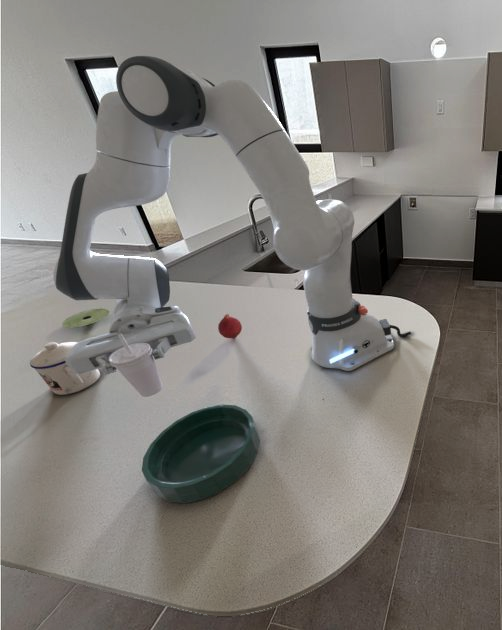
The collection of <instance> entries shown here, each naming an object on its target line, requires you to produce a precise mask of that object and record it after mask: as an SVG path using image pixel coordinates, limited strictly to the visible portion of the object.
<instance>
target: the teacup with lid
mask: <svg viewBox="0 0 502 630" xmlns="http://www.w3.org/2000/svg"><path fill="white" fill-rule="evenodd" d="M77 343H78V342H77V341H68V342H61V343H57V342H54V341H52V342H51V341H50V342H48V343H46V344H45V345H44V348H43V349H42V350H40V351H39V352H37V353H35V354H34V355H33V356H32V357H31V358H30V360H29V366H30V367H31V368H32V369H34V370H35V371H36V372H37V374H38V375H39V377H41V379H42V380H43V381H44V383H46V385H47V386H48V387H49V388H50V390H51V392H52V393H54V394H56V395H61V396H63V395H69V394H70V395H71V394H74V393H77V392H80V391H82V390H84V389H87V388H88V387H90V386H92V385H93V384H95V383H96V382H97V380H99V378H100V376H101V373H100V370H99V369H96V370H92V371H89V372H85V373H82V374H77V373H74V372H73V371H72V370H71V369H70V368H69V366H68V365H67V363H66V361H65V359H66V357H67V355H68V353H69V352H70V350H71V349H72V348H73V346H74V345H75V344H77Z"/></svg>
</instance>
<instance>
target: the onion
mask: <svg viewBox="0 0 502 630" xmlns="http://www.w3.org/2000/svg"><path fill="white" fill-rule="evenodd" d="M217 330H218V332H219V334H220V335H221V336H222V337H223V338H226V339H231V340H234V339H236V338H237V337H238V336H239V335H240V334H241V333H242V330H243V326H242V323H241V321H240V320H239V319H237V318H236V317H234V316H230V314H228V313H225V314H224V316H223V318H222V319H220V321H219V323H218V327H217Z"/></svg>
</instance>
